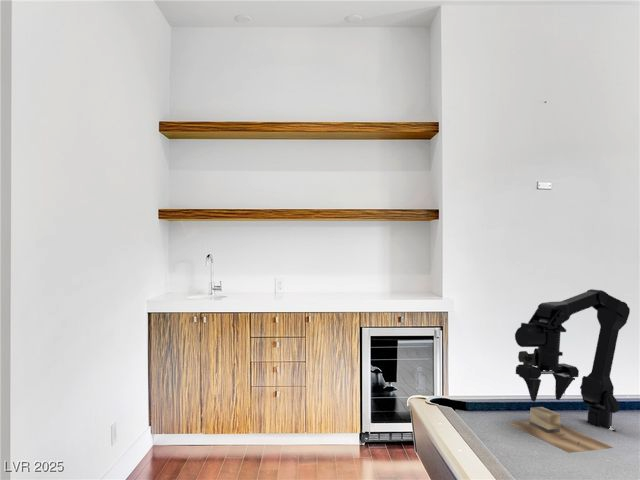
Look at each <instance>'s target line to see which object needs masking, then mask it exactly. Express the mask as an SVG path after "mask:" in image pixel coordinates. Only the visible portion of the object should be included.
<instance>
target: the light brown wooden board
mask: <svg viewBox="0 0 640 480" xmlns="http://www.w3.org/2000/svg"><path fill="white" fill-rule="evenodd" d="M508 424H510V425H511V426H513V427H515V428H517V429H519V430H522V431H523V432H526V433H527V434H530V435H532V436H534V437H536V438H537V439H539V440H542V441H544V442H546V443H548V444H549V445H551V446H554V447H556V448H558V449H559V450H562V451H564V452H566V453H568V454H570V453H571V454H572V453H579V452H588V451H596V450H599V451H600V450H606V449H614V447H613V446H611V445H608V444H607V443H604V442H602V441H599V440H598V439H595V438H594V437H593V438H592V437H590V436H588V435H585V434H583V433H581V432H578V431H577V430H574V429H572V428H570V427H567V426H565V425H563V424H561V423H560V432H555V433H547V432H544V431H542V430H540V429H538V428H536V427H534V426H532V425H530V420H528V421H515V422H508Z"/></svg>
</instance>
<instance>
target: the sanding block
mask: <svg viewBox="0 0 640 480" xmlns="http://www.w3.org/2000/svg"><path fill="white" fill-rule="evenodd" d="M529 421H530V425H532V426H534V427H536V428H538V429H540V430H542V431H544V432H547V433H555V432H560V424H561V413H559V412H555V411H553V410H550V409H548V408H546V407H544V406H535V407H532V406H531V407H530V412H529Z"/></svg>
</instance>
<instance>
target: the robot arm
mask: <svg viewBox="0 0 640 480" xmlns="http://www.w3.org/2000/svg"><path fill="white" fill-rule="evenodd" d="M589 308H593V309H594V310H595V311H596V319H597V322H598V324H599V326H600V328H599V333H598V338H597V342H596V343H597V344H596V349H595V353H594V357H593V358H594V359H593V363H592V369H591V372H590V373H589V374H588V375H587V376H586V375H584V376H582V379H581V384H580V387H579V389H580V395H581V396H582V403H583V405H587V406H588V412H587V421H586V423H587V424H589V425H592V426H594V427H601V428H604V429H606V430H608V429H609V428H610V426H612V425H613V424H612V422H613V421H612V420H613V414H615V413H618V412H619V410H620V407H621V405H620V403H619V402H618V400H617V399H616V397H615V396H614V391H615V390H614V384H613V382H612V379H611V371H612V366H613V362H614V357H615V353H616V352H615V351H616V347H617V341H618V337H619V332H620V331H621V329H622V328H623V327H624V326H625V325H626V324H627V322H628V319H629V316H630V312H631V309H630V306H629V305H628V304H627V303H626V302H625V301H622V300H620V299H619V298H616V297H614V296H612V295H610V294H608V293H607V292H606V291H604V290H601V289H593V288H591V289H588V290H587V291H584V292H582V293H580V294H577V295H574V296H572V297H569V298H566V299H563V300H561V301H559V300H558V301H547V302H541V303H540V304H538V306H537V308H536V310H535V311H534V312H533V314H532V316H531V318H530V319H529V321H528V322H521V323H520V327H518V328H517V329H516V331H515V333H514V339H515V342H516V344H517V346H519V347H521V348H534V349H533V353H528V351H527V350H521V351H519V352H518V356H517V358H518V362H519V363H521V364H518V365H516V367H515V375H518V376H519V378H522V379H523V381H524V382H525V384H526V388H527V390H528V393H529V397H530V401H532V402H536V400H537V397H538V394H539V390H540V386H541V382H542V379H540V378H541V376H542V375H553V378H554V380H555V388H554V389H555V390H554V392H555V399H556V400H557V401H560V400H561V398H562V397H563V395H564V394H565V392H566V391H567V389H568V387H570V385H571V384H572V382H573V381H575V380H576V378H579V375H580V374H579V371H580V370H579V369H578V367H577V366H574V365H571V364H567V363H559V362H560V357H562V356H563V353H564V352H563V351H560V349H561V347H560V345H561V333H567V329H566V328H565V327H564V326H563V325H562V324H564V323H566V322H567V321H568V320H570V318H571V316H572V315H574V314H577V313H580V312H582V311H584V310H586V309H589Z"/></svg>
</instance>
